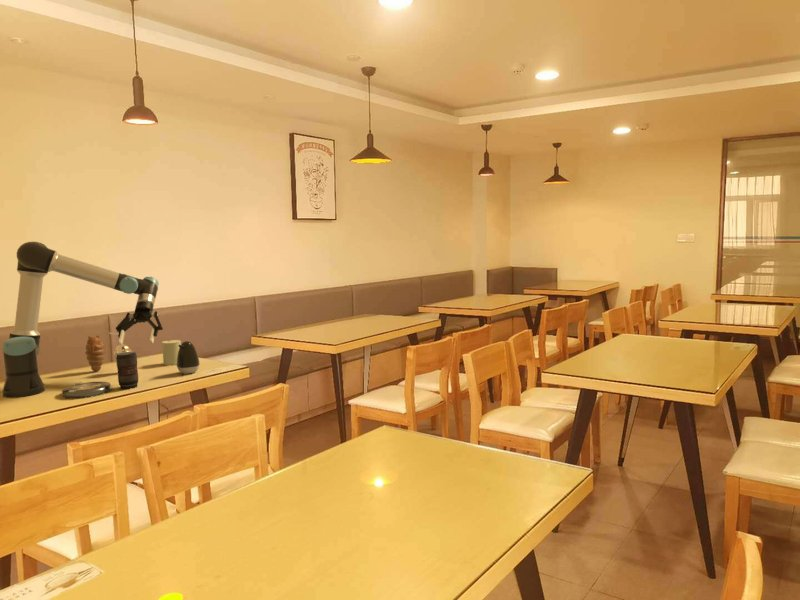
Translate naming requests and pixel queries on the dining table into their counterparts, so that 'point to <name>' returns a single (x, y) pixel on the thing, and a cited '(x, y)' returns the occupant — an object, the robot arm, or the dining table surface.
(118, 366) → the camera lens
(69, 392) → the plate
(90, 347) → the croissant
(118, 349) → the cup with straw
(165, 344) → the pale green cup
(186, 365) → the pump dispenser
